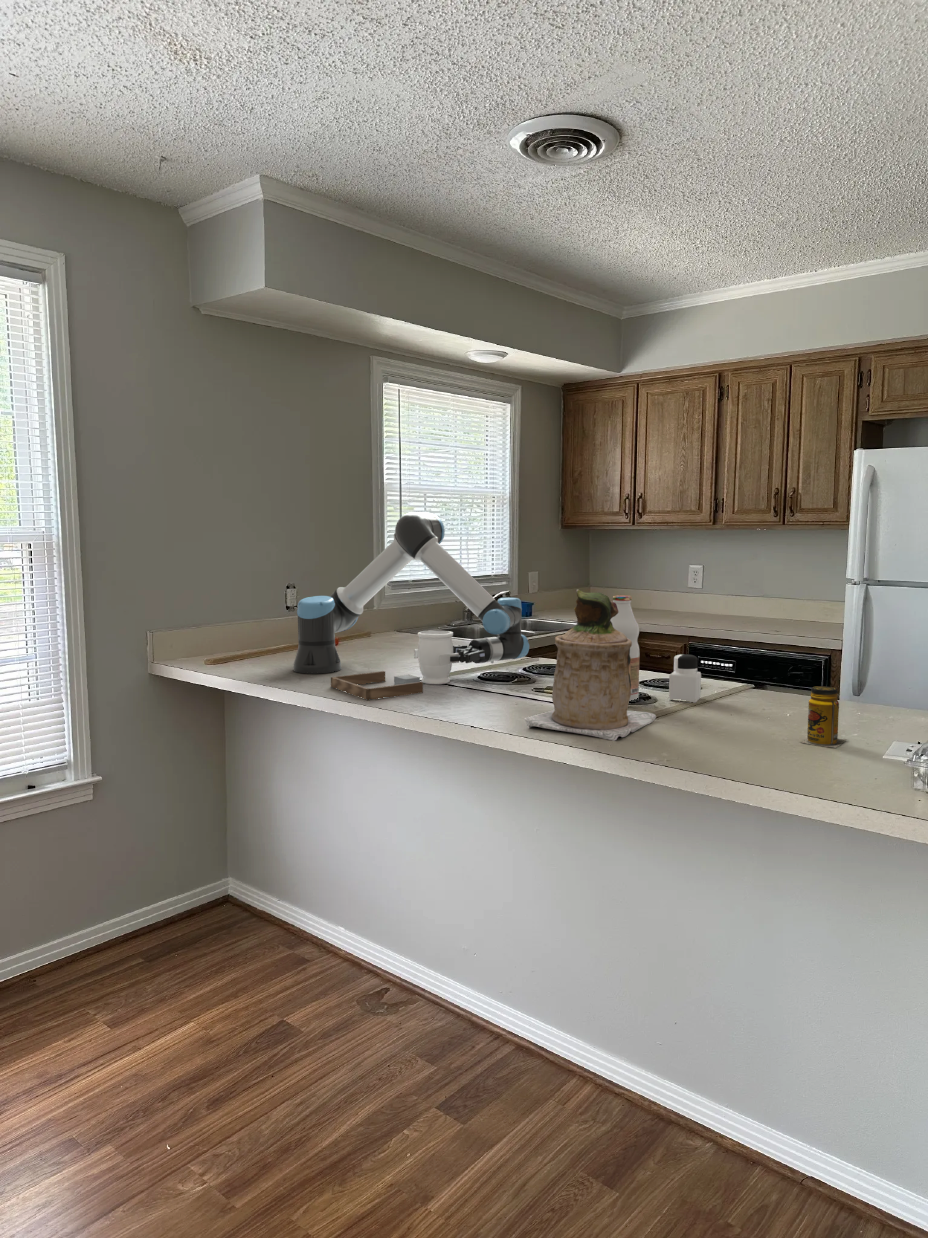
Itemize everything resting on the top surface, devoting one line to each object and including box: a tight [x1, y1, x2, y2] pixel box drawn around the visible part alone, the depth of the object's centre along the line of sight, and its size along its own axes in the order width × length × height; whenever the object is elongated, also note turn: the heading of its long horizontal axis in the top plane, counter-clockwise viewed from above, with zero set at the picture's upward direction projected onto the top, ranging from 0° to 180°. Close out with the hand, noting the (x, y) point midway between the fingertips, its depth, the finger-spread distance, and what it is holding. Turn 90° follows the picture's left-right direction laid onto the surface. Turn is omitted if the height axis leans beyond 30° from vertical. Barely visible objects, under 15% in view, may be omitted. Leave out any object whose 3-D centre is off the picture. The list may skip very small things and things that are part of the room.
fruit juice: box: [610, 594, 640, 701], centre depth 226 cm, size 9×9×28 cm
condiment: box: [800, 685, 849, 749], centre depth 184 cm, size 7×8×12 cm
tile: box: [393, 674, 421, 685], centre depth 249 cm, size 6×5×3 cm
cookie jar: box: [524, 589, 657, 741], centre depth 200 cm, size 25×25×32 cm
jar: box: [417, 630, 454, 685], centre depth 254 cm, size 11×10×15 cm
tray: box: [330, 670, 424, 701], centre depth 243 cm, size 22×18×3 cm
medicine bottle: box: [668, 653, 702, 704], centre depth 228 cm, size 7×7×12 cm
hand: (426, 656), depth 252 cm, fingers open, 13 cm apart
